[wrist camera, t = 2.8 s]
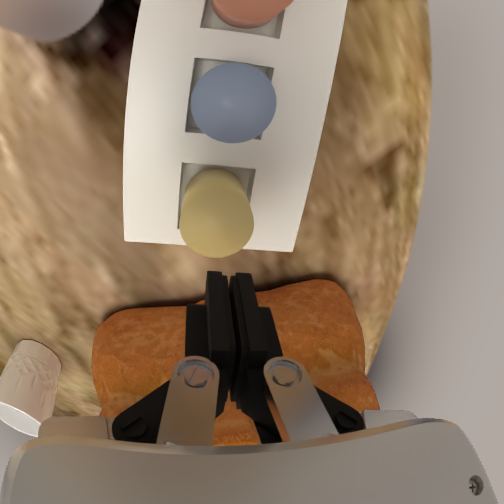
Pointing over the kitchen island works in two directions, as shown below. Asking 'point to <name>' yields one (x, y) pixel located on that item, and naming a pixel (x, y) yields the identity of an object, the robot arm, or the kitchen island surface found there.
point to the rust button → (248, 11)
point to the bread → (232, 419)
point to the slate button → (233, 102)
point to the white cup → (29, 387)
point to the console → (210, 150)
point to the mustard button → (216, 214)
